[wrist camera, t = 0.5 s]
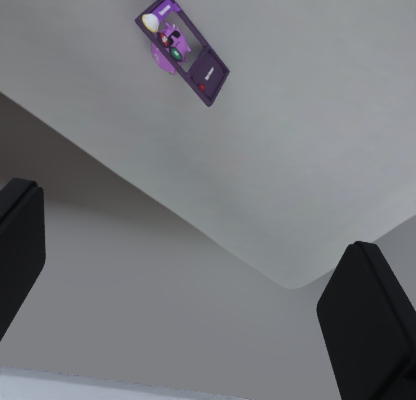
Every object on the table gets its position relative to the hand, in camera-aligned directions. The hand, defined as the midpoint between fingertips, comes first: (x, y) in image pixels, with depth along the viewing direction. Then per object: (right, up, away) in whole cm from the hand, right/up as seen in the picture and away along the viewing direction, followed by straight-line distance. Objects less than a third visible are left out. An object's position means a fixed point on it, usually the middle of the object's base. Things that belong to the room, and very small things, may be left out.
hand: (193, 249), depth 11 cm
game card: (-2, +16, +25) cm, 29 cm away
